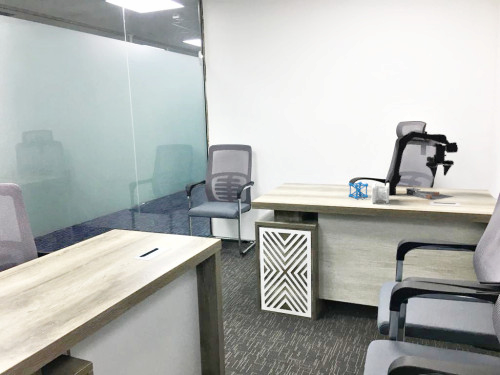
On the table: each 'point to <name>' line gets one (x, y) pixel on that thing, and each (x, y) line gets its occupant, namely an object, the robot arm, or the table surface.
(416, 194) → the tong base
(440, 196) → the desk mat
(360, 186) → the molecular structure
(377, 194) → the cable organizer
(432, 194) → the tong arm
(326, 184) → the table surface
